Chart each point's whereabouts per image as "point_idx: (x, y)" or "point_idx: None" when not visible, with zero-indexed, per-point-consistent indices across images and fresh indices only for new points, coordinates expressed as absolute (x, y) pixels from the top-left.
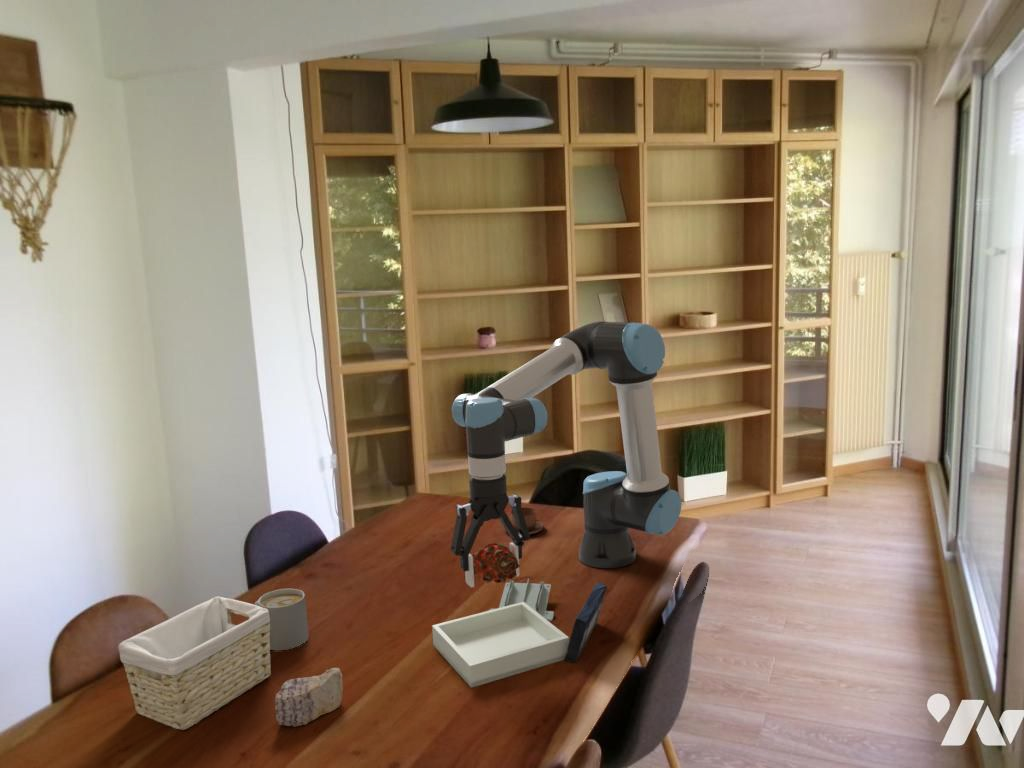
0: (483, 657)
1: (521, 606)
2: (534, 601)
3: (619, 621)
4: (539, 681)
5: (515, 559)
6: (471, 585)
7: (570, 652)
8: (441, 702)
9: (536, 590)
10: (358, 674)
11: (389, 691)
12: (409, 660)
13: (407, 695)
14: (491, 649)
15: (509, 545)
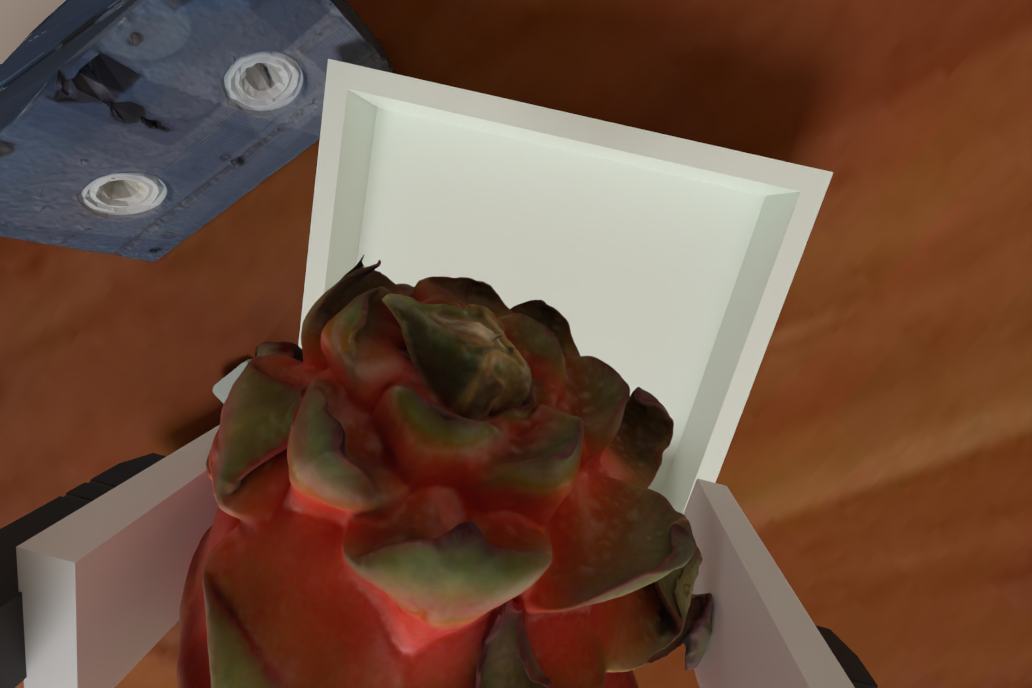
0: (624, 302)
1: None
2: None
3: None
4: (570, 25)
5: (263, 369)
6: (727, 492)
7: (370, 38)
8: (932, 175)
9: None
10: (972, 533)
11: (992, 373)
12: (792, 489)
13: (973, 306)
14: None
15: (114, 683)
